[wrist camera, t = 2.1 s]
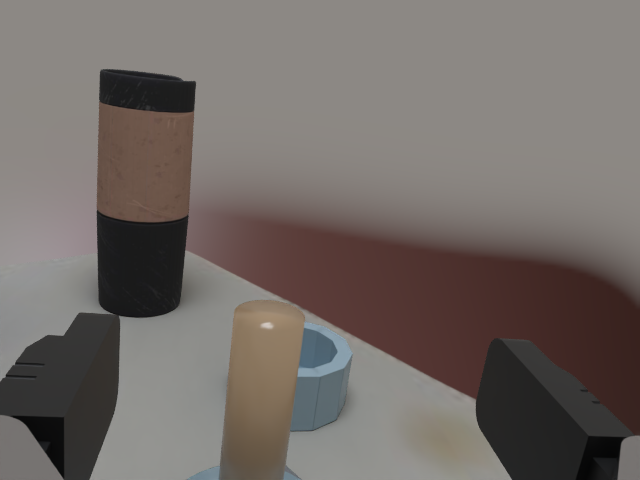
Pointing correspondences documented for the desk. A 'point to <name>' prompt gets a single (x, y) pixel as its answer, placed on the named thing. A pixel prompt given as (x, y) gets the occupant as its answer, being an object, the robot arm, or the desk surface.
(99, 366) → the robot arm
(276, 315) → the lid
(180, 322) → the desk surface
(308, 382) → the bowl
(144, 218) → the travel mug
